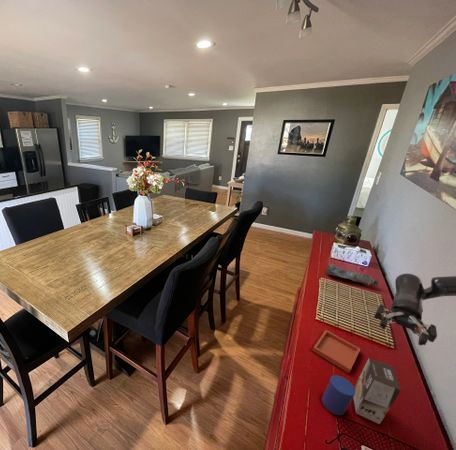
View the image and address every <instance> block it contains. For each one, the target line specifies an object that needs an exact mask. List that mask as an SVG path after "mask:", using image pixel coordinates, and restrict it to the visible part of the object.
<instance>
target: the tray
mask: <svg viewBox="0 0 456 450" xmlns="http://www.w3.org/2000/svg"><path fill="white" fill-rule="evenodd" d="M360 351H361V348H360V347H359V346H357V345H355V344H352V343H351V342H349V341H347V340H345V339H343V338H342V337H341V336H340V337H339V336H338V335H336V334H335V333H333V332H331V331H329V330H328V329H325V330H324V332H323V333H322V334H321V336H320V337H319V338H318V340H317V342H316V343H315V344H314V346H313V348H312V352H313V353H314V354H317V355H318V356H320V357H322V358H323V359H325V360H327V361H328V362H330V363H331V364H333V365H334V366H336V367H338V368H339V369H341V370H343V371H344V372H346V373H347V374H350V373H351V370H352V369H353V366H354V364H355V362H356V360H357V358H358V355H359V353H360Z"/></svg>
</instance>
